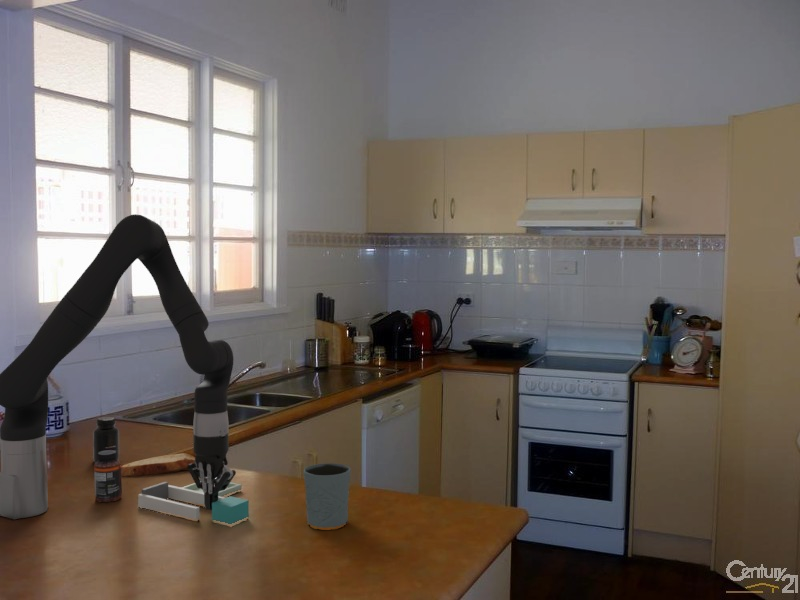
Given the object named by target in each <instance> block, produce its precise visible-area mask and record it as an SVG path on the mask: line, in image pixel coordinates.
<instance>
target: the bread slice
mask: <svg viewBox="0 0 800 600" xmlns="http://www.w3.org/2000/svg"><path fill="white" fill-rule="evenodd" d="M195 457H196V456H193V455H191V454H189V453H186V452H182V453H175V454H166V455H159V456H154V457H153V456H152V457H149V458H144V459H141V460H136V461H132V462H129V463H125V464H123V465H121V477H128V476H129V477H132V476H145V475H159V473H161V474H169V473H177V472H181V471H180V470H184V471H187V470H186V469H188V468H187V466H188V465H189V464H192V463H193V462H194V461H195ZM176 471H177V472H176Z"/></svg>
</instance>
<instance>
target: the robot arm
mask: <svg viewBox="0 0 800 600" xmlns="http://www.w3.org/2000/svg"><path fill="white" fill-rule="evenodd" d="M136 260H139V261H140V263H142V265H143V266H144V268H146V269H147V271H148V272H149V274H150V275H151V277H152V278H153V281H154V282H155V285H156V287H157V290H158V294H159V298H160V301H161V304H162V307H163V309H164V311H165V313H166V315H167V317H168V318H169V320H170V322H171V324H172V326H173V327H174V329H175V332H176V333H177V334H178V337H179V343H180V346H181V349H182V352H183V357H184V360H185V362H186V364H187V365H188V367H189V368H190V369H191V371H193V372H194V373H196V374H198V375H201V376H202V375H203V380H202V382H201V383H200V384H199V385H197V386H196V387H195V390H194V396H193V398H194V401H193V404H194V410H193V411H194V415H193V424H192V425H193V426H192V427H193V433H192V435H193V440H192V441H193V443H192V446H193V451H192V452H193V453H194V455H195V456H194V457H195V461H194V462H193V463H192V464H189V465H188V466H187V468H188V470H187V471H189V474H190V475H191V478H192V480H193V483H195V484H196V486H197V488H201V489H202V490H203V492H204V504H205V508H204V509H206V510H209V511H212V503H213V502H216V501H218V493H219V491H222V490H225V489H226V488H227V486H228V485H229V483H230V482H231V481H232V480H233V479H234V477H235V475H236V474H237V472H236V470H235V469H230V467H229V466H228V462H229V461H228V459H227V453H228V452H229V450H230V449H229V445H230V444H229V441H230V440H229V435H230V434H229V433H230V432H229V428H230V427H229V423H230V422H229V416H228V415H229V414H228V390H229V389H228V388H229V385H230V382H231V377H232V373H233V368H234V353H233V350H232V347H231V346H230V345H231V344H229V343H228V342H227V341H225V340H223V339H212V340H211V339H210V340H208V339H207V337H206V334H205V331H206V330H207V329H208V328H209V326H210V325H209V324H210V323H209V320H208V318H207V316H206V314H205V312H204V311H203V308H202V307H201V305H200V304H199V302H198V300H197V299H196V297H195V296H194V294H193V292H192V290H191V289H190V287H189V285H188V284H187V282H186V280H185V277H184V276H183V274H182V272H181V270H180V268H179V266H178V264H177V261H176V258H175V256H174V254H173V251H172V249H171V246H170V243H169V241H168V237H167V235H166V233H165V231H164V229H163V228H162V226H161V225H159V224H158V223H157V222H156V221H154V220H152V219H150V218H148V217H146V216H144V215H141V214H130V215H127V216H126V217H124V218H122V219H121V220H120V221H119V222H118V223H117V224H116V226H115V227H114V228H113V230H112V231H111V233H110V234H109V236H108V237H107V239H106V241H105V243H104V244H103V245H102V247H101V249H100V250H99V252H98V253H97V254H96V256H95V258H93V261H92V262H91V263H90V264H89V265H88V266H87V268H86V269H85V270H84V272H83V273H81V275H80V277H79V278H78V279H77V280H76V281H75V283H74V284H73V285H72V287H71V288H70V289H69V290H68V291H67V292H66V294H64V296H63V297H62V298H61V299H60V301H58V303H57V304H56V306H55V307H54V309H53V310H52V311H51V313H50V314H49V315H48V316H47V318H46V319H45V321H44V322H43V324H42V325H41V326H40V328H39V330H38V331H37V332H36V333H35V336H34V337H33V338H32V340H31V341H30V342H29V344H28V345H27V346H26V347H25V348H24V349H23V350H22V351H21V353H19V354H18V356H17V357H16V358H15V359H14V360H13V361H12V362H11V363H10V364H8V366H7V367H6V368H5V369H4V370H2V371H1V372H0V406H1V407H3V408H4V415H3V420H2V422H1V424H0V517H5V518H7V519H10V520H17V519H18V520H19V519H24V518H30V517H31V518H32V517H35V516H39V515H41V514H42V515H43V514H44V513H45V512H47V511H48V509H49V506H48V505H49V504H48V503H49V501H48V473H47V472H48V468H47V467H48V465H47V461H48V460H47V435H46V434H47V433H46V431H47V430H46V429H47V422H48V419H49V383H48V377H49V376H50V375H51V374H52V371H53V370H54V369H55V368H56V366H57V365H58V364H59V363H60V362H61V361H62V360H63V359H64V358H66V357H67V355H69V354H70V353H71V352H72V351H74V349H76V348H77V347H78V346H79V345H80V344H81V343H82V342H83V341H84V340H85V339H87V337H88V336H89V334H91V332H93V330H94V329H95V328H96V327H97V325H98V324H99V323H100V322H101V320H102V319H103V318H104V317H105V315H106V314H107V312H108V311H109V308H110V306H111V305H112V304H111V303H112V301H113V298H114V294H115V290H116V288H117V286H118V283H119V281H120V280H121V278H122V276H123V275H124V273H126V271H127V270H128V269H129V268H130V266H131V265H132V264H133V263H134V262H135V261H136ZM200 481H201V482H200ZM214 484H215V487H214Z"/></svg>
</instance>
